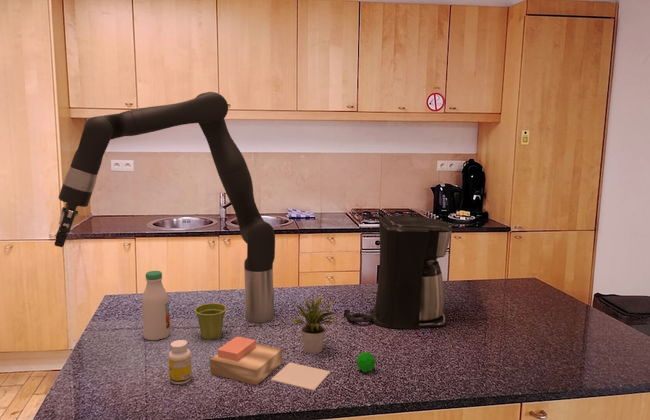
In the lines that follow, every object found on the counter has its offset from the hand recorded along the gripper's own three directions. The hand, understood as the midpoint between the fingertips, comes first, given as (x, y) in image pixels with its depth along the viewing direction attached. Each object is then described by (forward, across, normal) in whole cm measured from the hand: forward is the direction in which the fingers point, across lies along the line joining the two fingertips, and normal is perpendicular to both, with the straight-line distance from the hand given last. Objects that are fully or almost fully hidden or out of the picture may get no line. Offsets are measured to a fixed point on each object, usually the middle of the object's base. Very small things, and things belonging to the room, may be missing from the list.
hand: (59, 242), depth 137 cm
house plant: (+7, -29, -69) cm, 76 cm away
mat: (+10, -42, -62) cm, 75 cm away
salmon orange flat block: (+11, -29, -48) cm, 57 cm away
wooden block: (+14, -31, -51) cm, 62 cm away
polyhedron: (+4, -46, -77) cm, 90 cm away
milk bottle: (+21, 0, -34) cm, 40 cm away
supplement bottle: (+20, -30, -35) cm, 51 cm away
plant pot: (+15, -7, -48) cm, 51 cm away
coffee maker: (-6, -17, -105) cm, 106 cm away
